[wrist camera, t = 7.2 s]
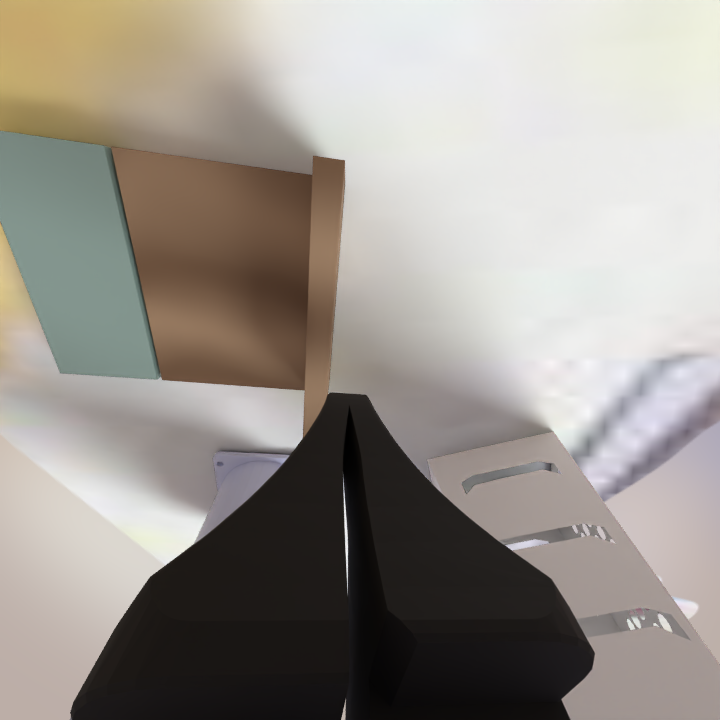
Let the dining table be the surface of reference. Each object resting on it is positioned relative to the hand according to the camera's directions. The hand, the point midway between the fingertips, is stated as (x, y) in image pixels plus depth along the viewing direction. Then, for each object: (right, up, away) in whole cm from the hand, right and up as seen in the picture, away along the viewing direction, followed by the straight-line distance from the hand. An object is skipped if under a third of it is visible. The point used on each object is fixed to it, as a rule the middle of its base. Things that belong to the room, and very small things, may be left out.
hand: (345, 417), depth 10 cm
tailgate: (-12, +6, +5) cm, 14 cm away
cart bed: (-6, +6, +7) cm, 11 cm away
